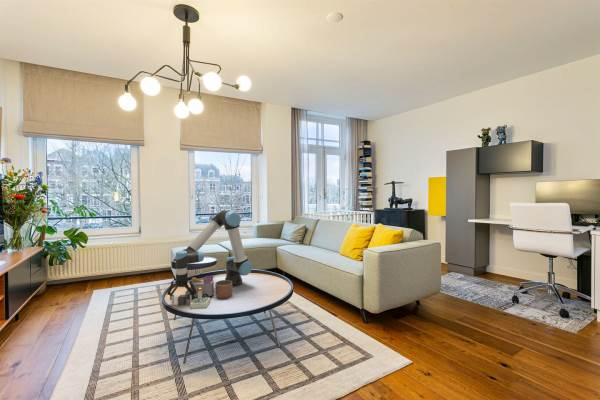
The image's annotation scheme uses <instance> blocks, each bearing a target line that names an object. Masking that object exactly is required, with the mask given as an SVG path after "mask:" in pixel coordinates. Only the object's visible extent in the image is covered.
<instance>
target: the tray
mask: <svg viewBox="0 0 600 400" xmlns="http://www.w3.org/2000/svg"><path fill="white" fill-rule="evenodd" d="M210 303H211V296H209V298H202V303H198V297H194V299H193V301H192V302H191V303H190V302H189V307H190V309H207V308H208V307H209V304H210Z"/></svg>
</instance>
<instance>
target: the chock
mask: <svg viewBox="0 0 600 400" xmlns="http://www.w3.org/2000/svg"><path fill="white" fill-rule="evenodd" d="M186 304H187V297H186V295H185V294H180V295H179V296H178V297H177V305H178V306H185V305H186Z"/></svg>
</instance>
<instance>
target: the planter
mask: <svg viewBox="0 0 600 400" xmlns="http://www.w3.org/2000/svg"><path fill="white" fill-rule="evenodd" d="M214 287H215V288H214V291H215V295H216V297H217V298H218V299H222V300H224V299H228V298H230V297H231V296H232V294H233V286H232V281H230V280H225V279H221V280H218V281H216V282H214Z"/></svg>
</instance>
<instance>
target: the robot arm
mask: <svg viewBox="0 0 600 400" xmlns="http://www.w3.org/2000/svg"><path fill="white" fill-rule="evenodd" d="M241 221H242V219H241V215H240V214H239V213H238V212H237V211H234V210H222V211H218V213H216V215H214V216H213V217H212V219H211V220H210V223H209V224H207V226H206V227H205V228H204V229H203V230H202V231H201V232H200V234H198V236H197V237H195V239H194V240H193V241H192V242H191V243H190V244H189V245H188V246H187V248H183V249H182V250H179V251H176V252H175V256H174V257H175V259H174V260H175V280H172V281H171V282H170V286H169V289H168V291H167V293H166V295H167V296H169V300H170V301H171V306H173V305H174V304H175V294H174V293H175V292H176V290H177V289H178V288H185V289H186V291H187V290H188V291H189V292H190V294H191V295H190V299H189V304H190V303H191V302H192V301H193V300H194V299H195V297H194V294H196V293H197V292H196V289H195V287H194V285H193V283H192V279H190V280H189V279H188V277H189V276H188V265H191V264H196V263H201V262H203V261H204V259H205V254H204V252H203V251H199V250H200V249H201V248H202V247H203V246H204V244H205V243H206V242H207V241H208V240H209V239H210V238H211V237H212V236H213V234H214V233H215V232H217V230H218V229H221V228H222V227H223V226H224V229H225V231H227V234H228V239H229V242H230V246H231V249H232V253H233V256H228V257H227V258H226V260H225V269H226V270H225V271H226V273H225V274H226V275H225V279H224V280H230V281H232V287H238V286H240V285H242V284H243V278H242V276H248V275H249V274H250V273H251V272H252V270H253V265H252V263H251V262H250V261H249V258H248V256H247V255H246V254H245V250H244V245H243V242H242V238H241V233H240V230H239V228H240V226H241V225H240V223H241ZM175 284H176V286H175V287H174V285H175ZM190 286H191V288H192V290H193V291H192V290H191V288H190ZM173 288H174V289H173Z"/></svg>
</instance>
